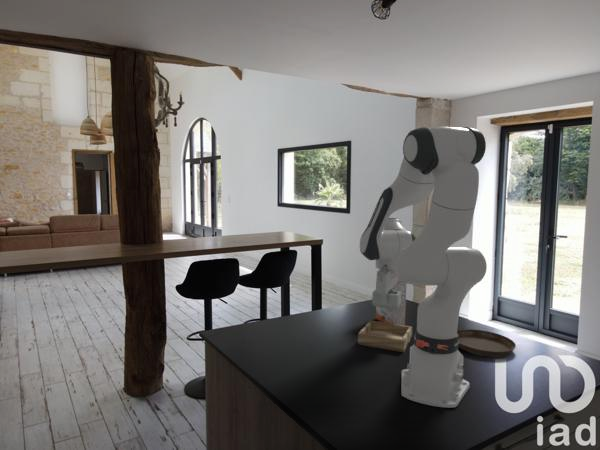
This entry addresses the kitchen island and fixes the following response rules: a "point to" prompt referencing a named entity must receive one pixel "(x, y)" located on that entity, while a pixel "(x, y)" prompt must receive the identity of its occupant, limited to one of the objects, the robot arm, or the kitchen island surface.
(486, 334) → the plant saucer
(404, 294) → the cracker box
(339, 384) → the kitchen island surface
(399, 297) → the box
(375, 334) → the big crate
